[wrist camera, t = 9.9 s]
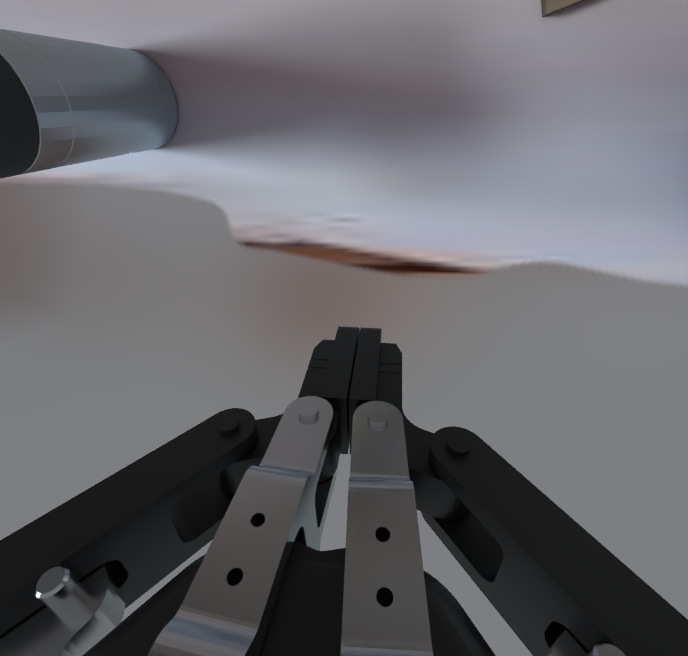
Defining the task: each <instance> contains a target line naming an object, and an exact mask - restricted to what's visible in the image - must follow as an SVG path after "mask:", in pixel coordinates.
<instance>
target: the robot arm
mask: <svg viewBox="0 0 688 656" xmlns="http://www.w3.org/2000/svg"><path fill="white" fill-rule="evenodd" d="M177 115H178V111H177V103H176V99H175V96H174V92H173V90H172V87H171V85H170V83H169V81H168V79H167V78H166V76H165V75H164V73H163V72H162V70H161V69H160V68H159V67H158V66H157V65H156V64H155V63H154V62H153V61H152V60H151V59H149V58H148V57H147V56H145V55H143V54H141V53H139V52H137V51H134V50H129V49H124V48H117V47H111V46H105V45H100V44H93V43H87V42H81V41H74V40H68V39H61V38H55V37H49V36H42V35H36V34H30V33H23V32H17V31H11V30H4V29H0V178H5V177H10V176H15V175H20V174H25V173H31V172H36V171H41V170H46V169H52V168H56V167H61V166H66V165H72V164H77V163H82V162H87V161H93V160H98V159H103V158H108V157H114V156H119V155H124V154H130V153H136V152H141V151H146V150H151V149H156V148H160V147H161V146H163V145H165V144H166V143H167V142H168V141H169V140H170V139H171V137H172V136H173V134H174V132H175V129H176V125H177ZM349 442H350V454H351V468H350V479H349V489H348V509H347V531H346V548H343V549H336V550H329V551H320V542H321V536H322V531H323V527H324V523H325V519H326V515H327V511H328V507H329V503H330V499H331V495H332V491H333V487H334V483H335V479H336V469H337V466H338V461H339V455H340V453H341V454H348V449H349ZM417 510H419V511H421V513H422V515H423V518H424V519H425V521H426V522H427V524H428V525H429V526H430V527H431V528H432V530H433V531H434V532H435V534H436V535H437V536H438V537H439V539H440V540H441V541H442V542H443V544H444V545H445V546H446V547H447V549H448V550H449V551H450V552H451V554H452V555H453V556H454V557H455V559H456V560H457V561H458V562H459V564H460V565H461V566H462V567H463V568H464V570H465V571H466V572H467V574H468V575H469V576H470V577H471V579H472V580H473V581H474V582H475V584H476V585H477V586H478V587H479V589H480V590H481V591H482V592H483V594H484V595H485V596H486V597H487V598H488V600H489V601H490V602H491V603H492V605H493V606H494V607H495V609H496V610H497V611H498V612H499V613H500V615H501V616H502V617H503V619H504V620H505V621H506V622H507V624H508V625H509V626H510V627H511V629H512V630H513V631H514V632H515V634H516V635H517V636H518V637H519V639H520V640H521V641H522V642H523V643H524V645H525V646H526V647H527V648H528V650H529V651H530V652H531V654H532V655H533V656H688V620H687V619H686V618H685V617H684V616H683V615H682V614H680V613H679V612H678V611H677V610H676V609H675V608H674V607H673V606H671V605H670V604H669V603H668V602H667V601H666V600H665V599H663V598H662V597H661V596H660V595H659V594H658V593H656V592H655V591H654V590H653V589H652V588H651V587H650V586H649V585H647V584H646V583H645V582H644V581H643V580H642V579H641V578H639V577H638V576H637V575H636V574H635V573H634V572H632V571H631V570H630V569H629V568H628V567H627V566H626V565H625V564H623V563H622V562H621V561H620V560H619V559H618V558H617V557H615V556H614V555H613V554H612V553H611V552H610V551H609V550H607V549H606V548H605V547H604V546H603V545H602V544H601V543H599V542H598V541H597V540H596V539H595V538H594V537H592V536H591V535H590V534H589V533H588V532H587V531H586V530H584V529H583V528H582V527H581V526H580V525H579V524H578V523H576V522H575V521H574V520H573V519H572V518H571V517H570V516H569V515H567V514H566V513H565V512H564V511H563V510H562V509H561V508H559V507H558V506H557V505H556V504H555V503H554V502H553V501H551V500H550V499H549V498H548V497H547V496H546V495H544V494H543V493H542V492H541V491H540V490H539V489H538V488H536V487H535V486H534V485H533V484H532V483H531V482H530V481H529V480H527V479H526V478H525V477H524V476H523V475H522V474H521V473H519V472H518V471H517V470H516V469H515V468H514V467H512V466H511V465H510V464H509V463H508V462H507V461H506V460H505V459H503V458H502V457H501V456H500V455H499V454H497V452H495V451H494V450H493V449H492V448H491V447H490V446H489V445H487V444H486V443H485V442H484V441H483V440H482V439H480V438H479V437H478V436H477V435H475V434H474V433H473V432H471V431H469V430H467V429H464V428H460V427H445V428H442V429H440V430H438V431H437V432H436V433H431V432H428V431H426V430H423V429H420V428H418V427H417V426H415V425H413V424H412V423H411V422H410V421H409V420H408V419H407V418H406V417H405V415H404V413H403V410H402V353H401V352H400V349H399V348H398V346H397V345H396V344H390V343H381V329H378V328H361V329H359V328H358V327H338V330H337V334H336V338H335V340H322V341H321V342H320V343H319V344H318V345H317V346H316V347H315V348H314V350H313V354H312V357H311V360H310V363H309V366H308V369H307V372H306V375H305V378H304V382H303V384H302V387H301V390H300V394H299V397H298V399H296V400H294V401H293V402H291V403H290V404H289V405H288V406H287V408H286V409H285V411H284V413H283V414H281V415H278V416H275V417H270V418H265V419H259V420H255V418H254V416H253V415H252V414H251V413H250V412H249V411H247V410H244V409H239V408H232V409H227V410H224V411H221V412H219V413H217V414H215V415H214V416H212V417H210V418H208V419H207V420H206V421H203V422H202V423H200V424H198V425H197V426H195V427H193V428H192V429H190V430H188V431H186V432H185V433H183V434H181V435H179V436H178V437H176V438H175V439H173V440H171V441H169V442H168V443H166V444H164V445H162V446H161V447H159V448H157V449H156V450H154V451H152V452H150V453H149V454H147V455H145V456H144V457H142V458H140V459H139V460H137V461H135V462H134V463H132V464H130V465H128V466H127V467H125V468H123V469H121V470H120V471H118V472H116V473H115V474H113V475H111V476H110V477H108V478H106V479H104V480H103V481H101V482H99V483H98V484H96V485H94V486H92V487H91V488H89V489H87V490H86V491H84V492H82V493H81V494H79V495H77V496H75V497H74V498H72V499H70V500H69V501H67V502H65V503H64V504H62V505H60V506H58V507H57V508H55V509H53V510H51V511H50V512H48V513H46V514H45V515H43V516H41V517H40V518H38V519H36V520H34V521H33V522H31V523H29V524H28V525H26V526H24V527H23V528H21V529H19V530H17V531H16V532H14V533H12V534H11V535H9V536H7V537H6V538H4V539H2V540H0V656H495V654H494V653H493V651H492V650H491V648H490V647H489V646H488V644H487V643H486V641H485V640H484V639H483V637H482V635H481V634H480V633H479V631H478V630H477V628H476V627H475V626H474V624H473V622H472V621H471V620H470V618H469V617H468V616H467V614H466V613H465V611H464V610H463V608H462V607H461V605H460V604H459V603H458V601H457V600H456V599H455V598H454V596H453V595H452V594H451V593H450V592H449V591H448V590H447V589H446V588H445V587H444V586H443V585H442V584H441V583H440V582H439V581H438V580H437V579H435V578H434V577H432V576H431V575H430V574H428V573H427V572H425V571H423V562H422V554H421V545H420V536H419V527H418V518H417ZM212 539H213V541H212V542H211V544H210V547H209V549H208V551H207V553H206V554H205V555H204V556H202V557H200V558H199V559H197V560H196V561H194V562H193V563H191V564H190V565H189V566H188V567H186V568H185V569H184V570H183V571H182V572H180V573H179V574H178V575H177V576H176V577H174V578H173V579H172V580H171V581H170V582H168V583H167V584H166V585H165V586H164V587H163V588H161V589H160V590H159V591H158V592H157V593H156V594H154V595H153V596H152V597H151V598H150V599H148V600H147V601H146V602H145V603H144V604H143V605H141V606H140V607H139V608H138V609H137V610H135V611H134V612H133V613H132V614H131V615H130V616H128V617H127V618H126V619H125V620H124V621H122V622H121V620H122V618H123V614H124V610H125V608H127V607H128V606H129V605H130V604H132V603H133V602H134V601H135V600H137V599H138V598H139V597H140V596H142V595H143V594H144V593H145V592H147V591H148V590H149V589H150V588H152V587H153V586H154V585H155V584H157V583H158V582H159V581H160V580H162V579H163V578H164V577H165V576H167V575H168V574H169V573H170V572H172V571H173V570H174V569H176V568H177V567H178V566H179V565H181V564H182V563H183V562H185V561H186V560H187V559H188V558H190V557H191V556H192V555H193V554H195V553H196V552H197V551H198V550H200V549H201V548H202V547H203V546H205V545H206V544H207V543H208V542H210V541H211V540H212Z"/></svg>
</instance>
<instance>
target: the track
mask: <svg viewBox="0 0 688 656" xmlns="http://www.w3.org/2000/svg"><path fill="white" fill-rule="evenodd" d="M581 1H584V0H541V4H542V17H544V16H546V15H549V14H551V13H554V12H556V11H559V10H561V9H564V8H566V7H569V6H571V5H574V4H576V3H579V2H581Z"/></svg>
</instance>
